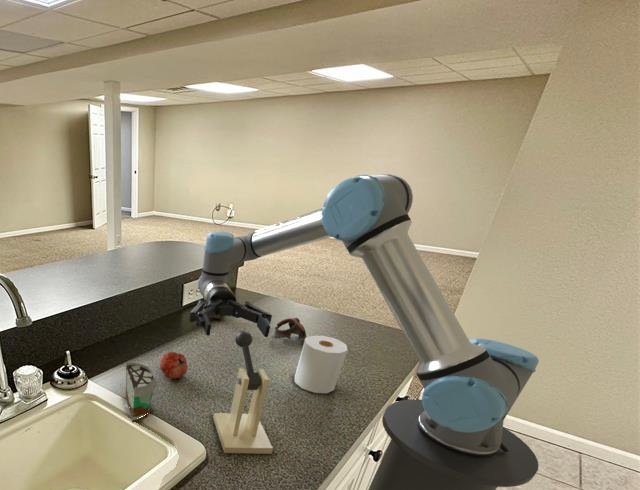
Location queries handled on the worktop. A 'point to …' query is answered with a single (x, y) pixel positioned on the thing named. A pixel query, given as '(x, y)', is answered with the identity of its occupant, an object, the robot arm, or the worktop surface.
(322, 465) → the worktop surface
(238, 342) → the lever
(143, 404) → the food container
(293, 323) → the brown curved openwork frame
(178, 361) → the pomegranate
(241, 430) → the switch bracket
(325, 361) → the toilet paper
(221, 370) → the worktop surface
